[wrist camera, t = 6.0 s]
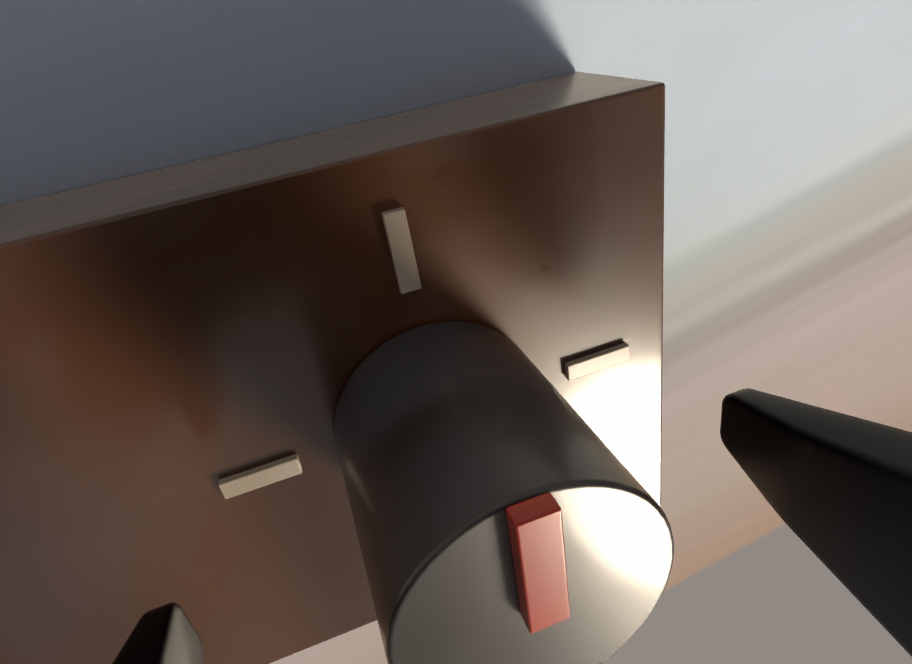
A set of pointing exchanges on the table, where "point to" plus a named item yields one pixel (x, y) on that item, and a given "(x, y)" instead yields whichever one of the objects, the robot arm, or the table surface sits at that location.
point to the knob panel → (299, 350)
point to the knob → (491, 508)
